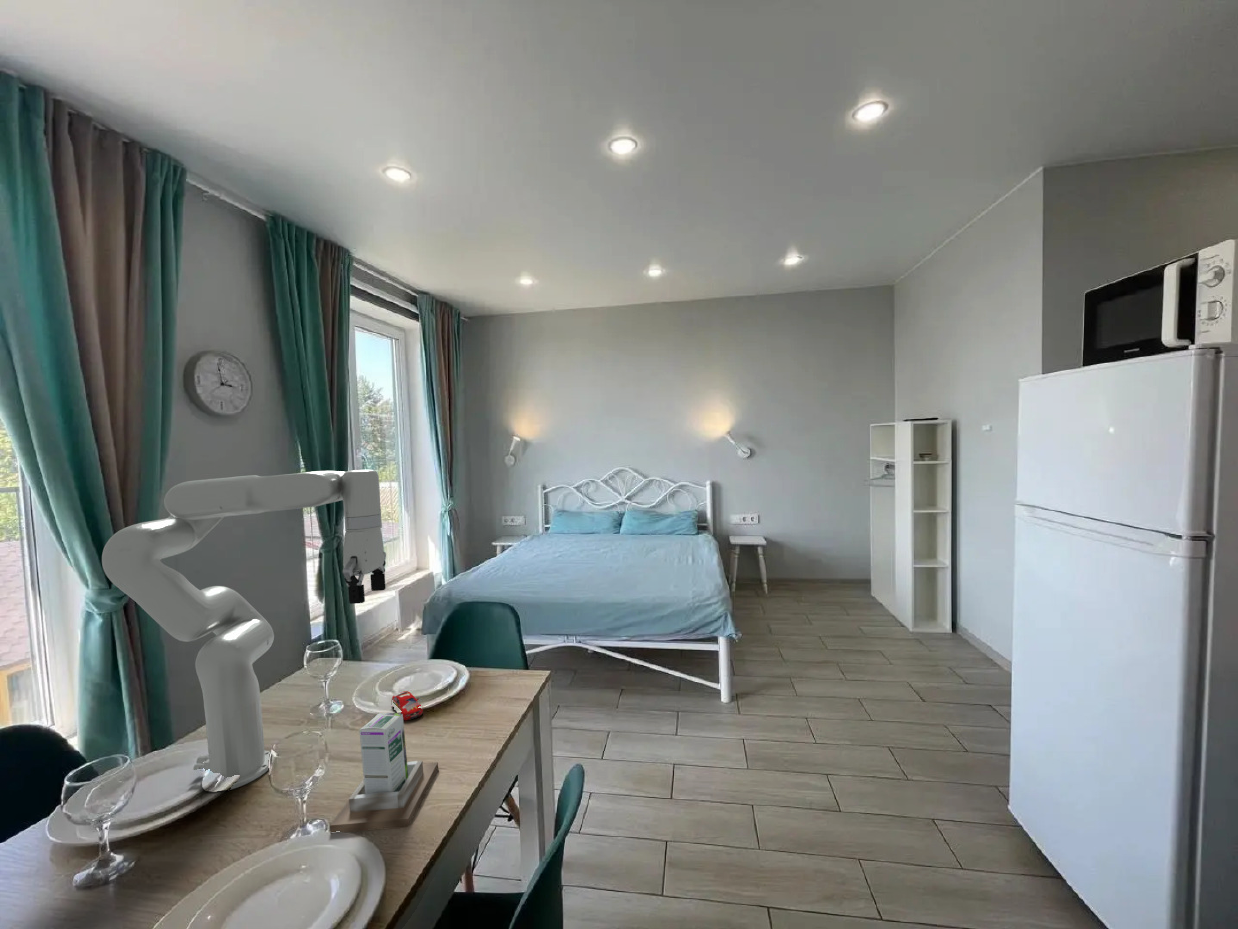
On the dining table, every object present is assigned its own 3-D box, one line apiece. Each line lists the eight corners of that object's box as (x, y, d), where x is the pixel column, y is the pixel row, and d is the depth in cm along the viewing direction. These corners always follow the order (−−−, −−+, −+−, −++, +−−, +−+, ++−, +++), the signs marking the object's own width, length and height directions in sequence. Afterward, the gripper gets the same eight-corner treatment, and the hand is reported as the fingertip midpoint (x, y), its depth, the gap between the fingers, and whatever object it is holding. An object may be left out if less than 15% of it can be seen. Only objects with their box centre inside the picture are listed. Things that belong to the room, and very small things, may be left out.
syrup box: (392, 803, 92) (386, 729, 92) (364, 801, 93) (358, 728, 93) (409, 782, 98) (404, 712, 97) (382, 781, 99) (377, 712, 98)
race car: (425, 717, 126) (424, 702, 126) (403, 725, 123) (402, 710, 122) (410, 698, 136) (409, 684, 136) (389, 705, 133) (388, 691, 133)
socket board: (330, 833, 87) (328, 812, 87) (372, 774, 103) (371, 756, 103) (408, 827, 88) (406, 805, 88) (438, 769, 104) (437, 751, 104)
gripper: (366, 518, 120) (370, 586, 120) (324, 530, 102) (330, 609, 103) (396, 517, 120) (400, 585, 120) (360, 528, 103) (365, 607, 103)
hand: (368, 596), depth 112 cm, fingers open, 9 cm apart
